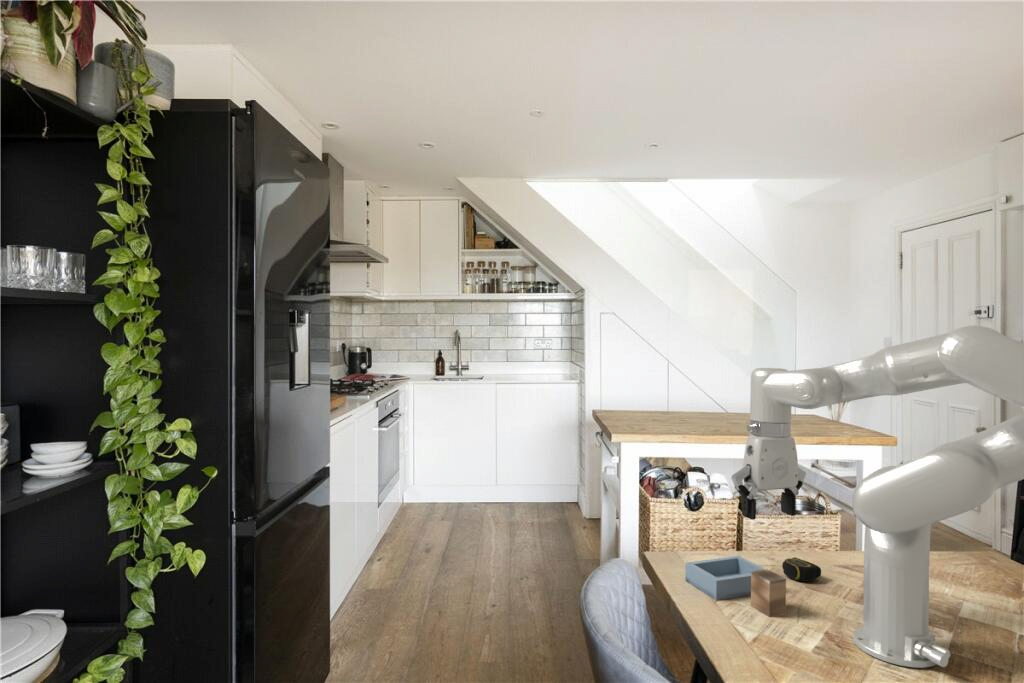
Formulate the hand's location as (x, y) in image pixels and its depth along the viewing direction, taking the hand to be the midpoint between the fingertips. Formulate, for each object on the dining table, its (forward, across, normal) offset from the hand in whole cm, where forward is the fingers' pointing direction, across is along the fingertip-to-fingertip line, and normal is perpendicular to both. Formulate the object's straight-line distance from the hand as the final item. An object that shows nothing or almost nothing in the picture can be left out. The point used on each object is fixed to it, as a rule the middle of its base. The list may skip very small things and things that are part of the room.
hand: (768, 515), depth 117 cm
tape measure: (+19, +19, +11) cm, 29 cm away
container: (+19, 0, +12) cm, 22 cm away
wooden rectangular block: (+19, 0, 0) cm, 19 cm away
